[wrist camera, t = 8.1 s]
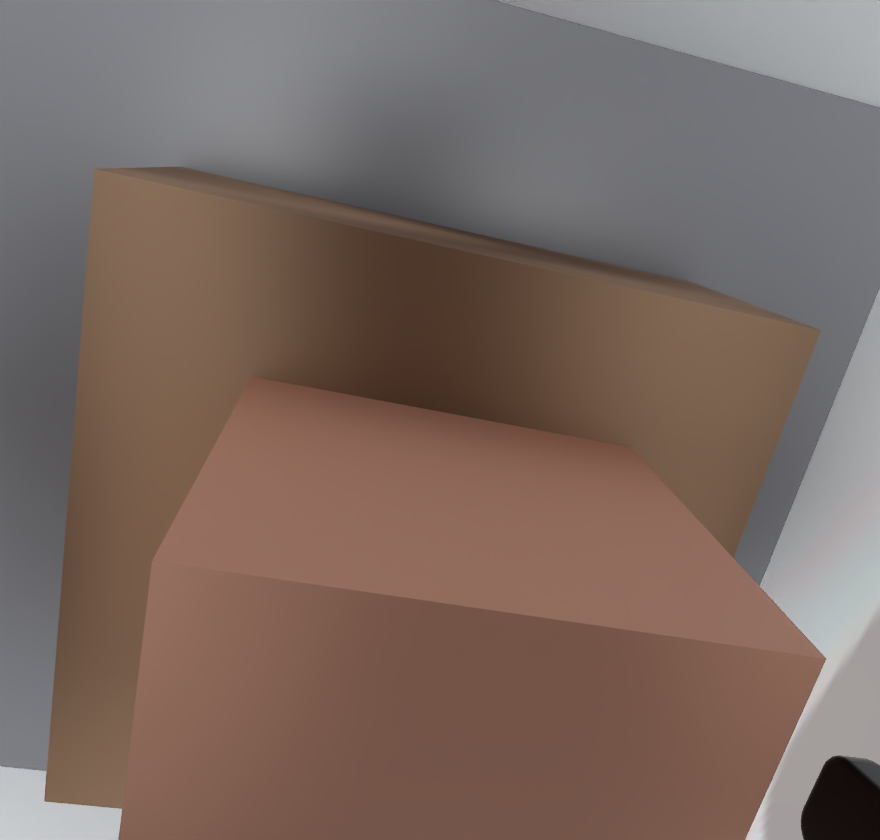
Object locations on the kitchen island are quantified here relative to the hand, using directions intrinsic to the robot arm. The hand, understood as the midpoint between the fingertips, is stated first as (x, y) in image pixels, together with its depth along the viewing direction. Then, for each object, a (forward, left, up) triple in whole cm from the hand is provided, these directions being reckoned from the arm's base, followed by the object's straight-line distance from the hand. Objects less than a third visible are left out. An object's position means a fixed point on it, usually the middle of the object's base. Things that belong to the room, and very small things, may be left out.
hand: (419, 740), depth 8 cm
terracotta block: (0, 0, -3) cm, 3 cm away
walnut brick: (0, 0, -8) cm, 8 cm away
